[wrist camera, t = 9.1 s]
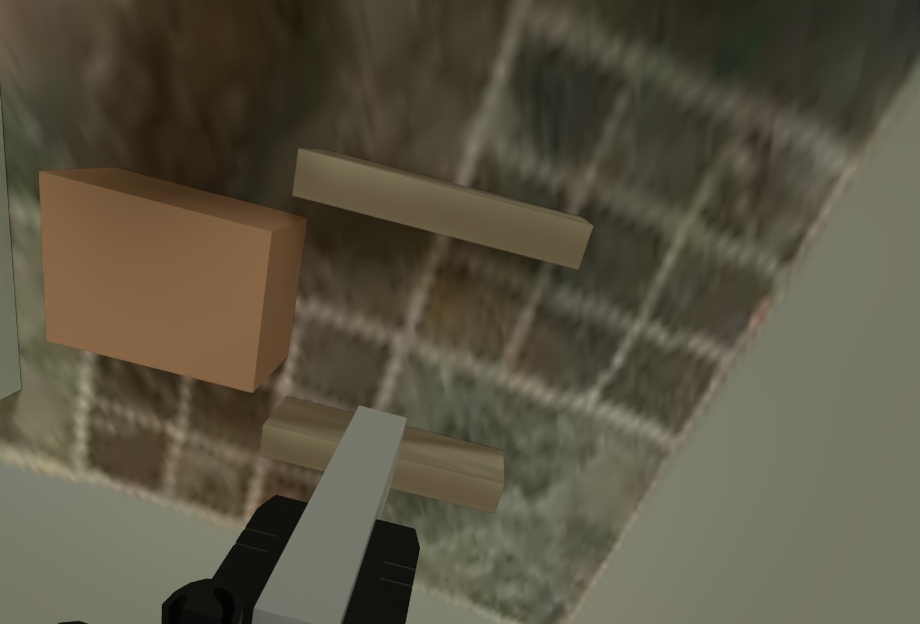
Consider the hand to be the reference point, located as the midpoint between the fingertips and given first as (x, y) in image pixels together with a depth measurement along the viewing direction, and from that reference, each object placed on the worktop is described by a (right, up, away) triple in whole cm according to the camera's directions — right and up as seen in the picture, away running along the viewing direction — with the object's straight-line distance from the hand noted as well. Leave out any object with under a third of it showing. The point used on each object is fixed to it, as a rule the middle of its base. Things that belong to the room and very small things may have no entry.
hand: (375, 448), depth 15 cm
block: (-11, +7, +11) cm, 17 cm away
